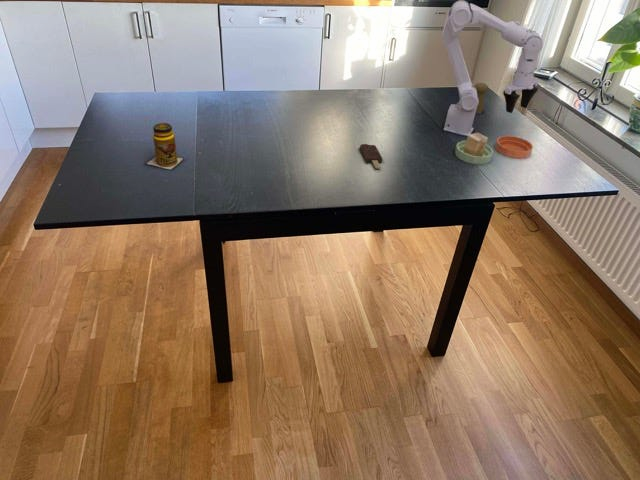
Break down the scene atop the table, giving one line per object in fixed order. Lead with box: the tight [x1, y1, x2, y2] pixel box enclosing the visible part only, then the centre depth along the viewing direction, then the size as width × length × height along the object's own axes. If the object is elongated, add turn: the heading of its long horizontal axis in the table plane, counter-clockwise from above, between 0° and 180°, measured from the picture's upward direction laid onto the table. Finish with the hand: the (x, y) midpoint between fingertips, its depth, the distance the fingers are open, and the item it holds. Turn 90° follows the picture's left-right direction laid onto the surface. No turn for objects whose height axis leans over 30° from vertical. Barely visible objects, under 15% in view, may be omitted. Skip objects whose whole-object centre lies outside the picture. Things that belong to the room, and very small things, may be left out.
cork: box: [473, 82, 489, 115], centre depth 199 cm, size 6×6×11 cm
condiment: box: [146, 122, 184, 170], centre depth 151 cm, size 7×8×12 cm
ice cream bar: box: [359, 143, 383, 170], centre depth 164 cm, size 5×2×15 cm
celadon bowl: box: [454, 140, 494, 165], centre depth 169 cm, size 12×12×3 cm
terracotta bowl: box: [494, 135, 534, 160], centre depth 174 cm, size 12×12×3 cm
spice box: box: [464, 132, 489, 157], centre depth 168 cm, size 5×5×7 cm
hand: (516, 109), depth 178 cm, fingers open, 7 cm apart
